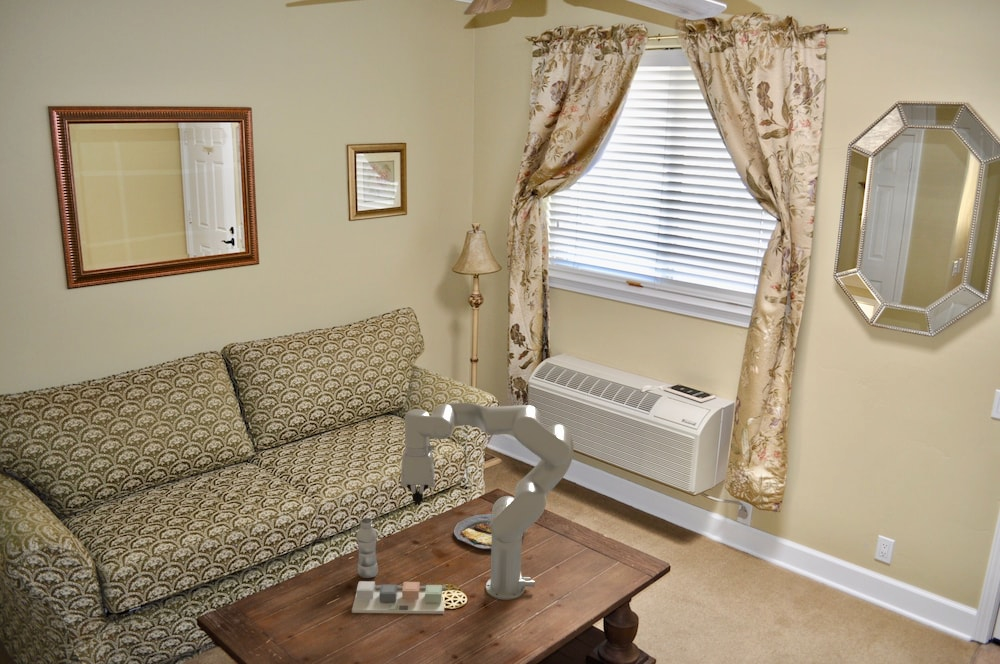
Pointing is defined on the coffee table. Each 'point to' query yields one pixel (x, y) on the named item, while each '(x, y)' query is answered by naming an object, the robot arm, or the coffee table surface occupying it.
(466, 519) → the food plate
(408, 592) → the key terracotta
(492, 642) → the coffee table surface
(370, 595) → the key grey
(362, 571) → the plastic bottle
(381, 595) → the key charcoal
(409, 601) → the keyboard base
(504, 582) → the robot arm
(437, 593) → the key sage
